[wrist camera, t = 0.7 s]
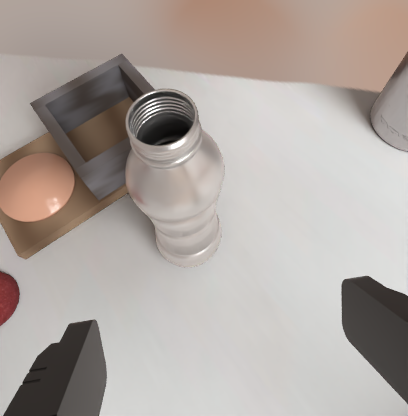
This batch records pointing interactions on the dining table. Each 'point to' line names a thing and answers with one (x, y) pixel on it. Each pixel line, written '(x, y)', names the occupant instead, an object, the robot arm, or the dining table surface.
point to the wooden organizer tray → (81, 148)
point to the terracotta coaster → (36, 187)
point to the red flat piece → (8, 296)
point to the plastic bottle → (175, 175)
